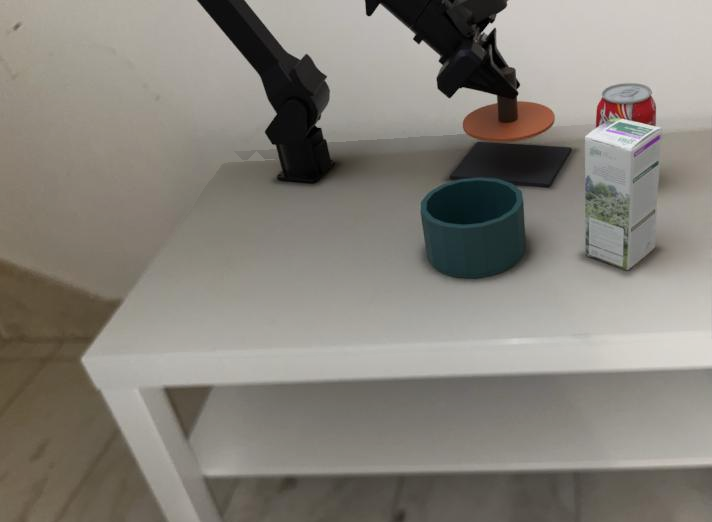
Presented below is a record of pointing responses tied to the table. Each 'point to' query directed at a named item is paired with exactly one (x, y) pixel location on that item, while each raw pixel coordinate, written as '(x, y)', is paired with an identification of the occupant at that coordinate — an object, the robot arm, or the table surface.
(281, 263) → the table surface
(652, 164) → the syrup box
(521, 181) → the mat
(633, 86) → the soda can
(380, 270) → the table surface
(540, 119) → the lid
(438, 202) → the round pot
